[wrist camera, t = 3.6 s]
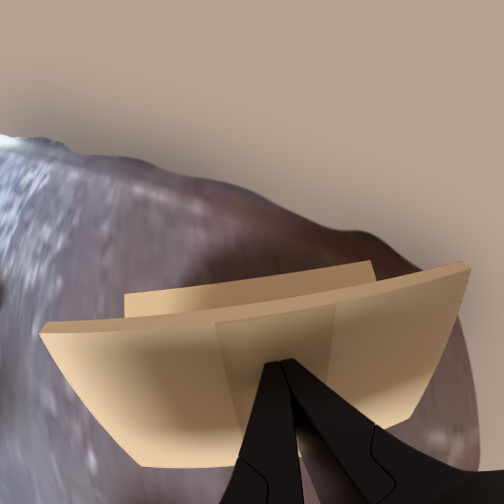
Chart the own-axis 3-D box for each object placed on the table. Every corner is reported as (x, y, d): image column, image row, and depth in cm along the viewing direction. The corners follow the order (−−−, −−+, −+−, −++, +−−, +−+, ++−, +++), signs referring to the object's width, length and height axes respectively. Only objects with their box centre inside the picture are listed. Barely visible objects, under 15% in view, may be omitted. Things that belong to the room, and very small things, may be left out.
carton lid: (404, 410, 11) (409, 419, 11) (142, 456, 10) (140, 467, 9) (460, 261, 8) (472, 269, 7) (46, 322, 7) (37, 335, 6)
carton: (362, 402, 17) (404, 409, 11) (171, 434, 16) (142, 456, 10) (339, 290, 20) (370, 259, 15) (156, 317, 19) (124, 294, 14)
